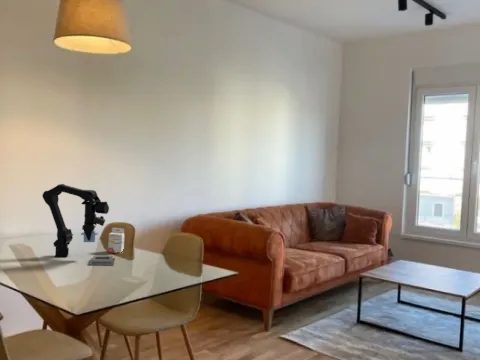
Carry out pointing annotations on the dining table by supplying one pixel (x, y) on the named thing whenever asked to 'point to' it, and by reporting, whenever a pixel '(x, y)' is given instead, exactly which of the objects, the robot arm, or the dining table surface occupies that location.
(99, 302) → the dining table surface
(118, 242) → the ink cartridge box
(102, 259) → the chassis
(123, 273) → the dining table surface
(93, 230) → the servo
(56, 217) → the robot arm
